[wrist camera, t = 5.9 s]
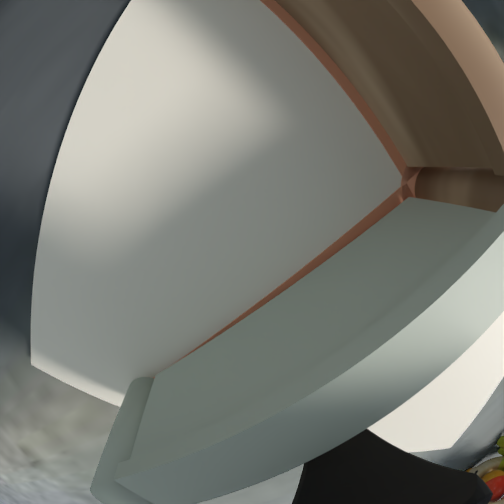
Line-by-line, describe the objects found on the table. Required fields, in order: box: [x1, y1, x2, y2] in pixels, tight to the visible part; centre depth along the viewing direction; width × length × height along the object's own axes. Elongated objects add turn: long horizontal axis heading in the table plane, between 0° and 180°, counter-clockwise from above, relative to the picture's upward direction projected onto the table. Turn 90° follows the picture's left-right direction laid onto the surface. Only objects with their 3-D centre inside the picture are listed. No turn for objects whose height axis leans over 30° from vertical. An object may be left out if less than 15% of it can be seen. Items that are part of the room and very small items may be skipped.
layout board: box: [31, 0, 504, 452], centre depth 10 cm, size 21×26×1 cm
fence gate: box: [90, 197, 504, 504], centre depth 7 cm, size 2×13×5 cm, turn 126°
